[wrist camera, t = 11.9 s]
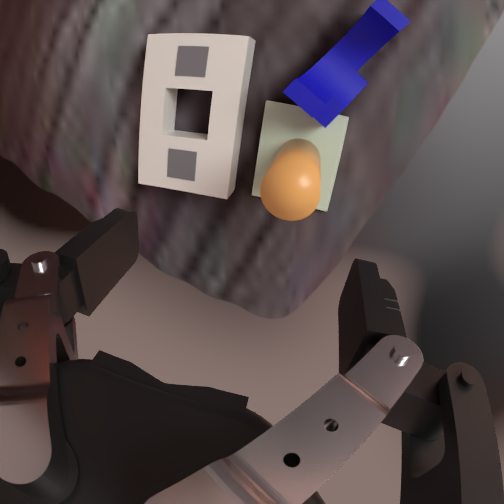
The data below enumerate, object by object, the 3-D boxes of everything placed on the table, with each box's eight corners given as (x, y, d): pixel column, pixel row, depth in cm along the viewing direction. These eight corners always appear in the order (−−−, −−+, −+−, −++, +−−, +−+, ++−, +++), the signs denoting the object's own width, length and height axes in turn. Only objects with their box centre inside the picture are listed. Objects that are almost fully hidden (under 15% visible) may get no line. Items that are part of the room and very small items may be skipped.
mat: (266, 100, 28) (266, 100, 28) (348, 117, 28) (348, 117, 27) (252, 193, 34) (251, 195, 33) (326, 209, 33) (326, 211, 32)
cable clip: (324, 126, 28) (326, 130, 23) (288, 94, 27) (282, 92, 22) (404, 46, 23) (424, 34, 17) (369, 14, 22) (381, -5, 17)
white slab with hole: (161, 37, 27) (147, 34, 24) (255, 40, 26) (248, 36, 23) (151, 175, 35) (137, 183, 32) (234, 189, 34) (226, 199, 31)
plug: (282, 133, 29) (266, 157, 21) (325, 144, 29) (327, 173, 20) (274, 173, 31) (255, 212, 23) (314, 183, 31) (311, 227, 23)
